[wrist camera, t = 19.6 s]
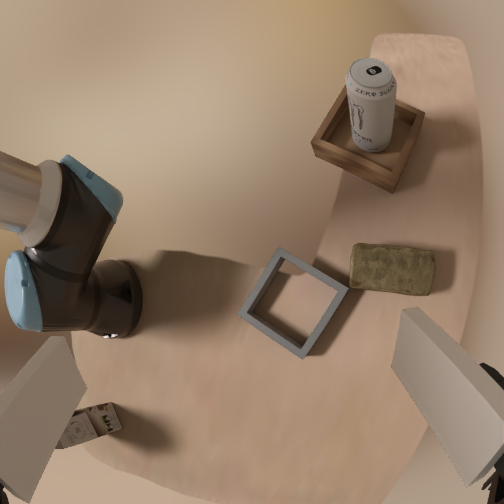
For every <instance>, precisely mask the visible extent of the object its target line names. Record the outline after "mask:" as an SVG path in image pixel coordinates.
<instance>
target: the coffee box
mask: <svg viewBox="0 0 504 504" xmlns="http://www.w3.org/2000/svg"><path fill="white" fill-rule="evenodd" d="M119 429H122V426H121V424H120V422H119V419H118V417H117V415H116V412H115V410H114V407H113V405H112V403H111V402H110V403H105V404H101V405H96V406H91V407H87V408H83V409H79V410H75V411H74V413H73V415H72V417H71V419H70V420H69V422H68V424H67V426H66V428H65V430H64V432H63V434H62V435H61V437H60V439H59V441H58V443H57V445H56V447H55V449H64V448H68V447H71V446H74V445H77V444H80V443H83V442H86V441H89V440H92V439H95V438H98V437H101V436H103V435H106V434H109V433H111V432H114V431H117V430H119Z"/></svg>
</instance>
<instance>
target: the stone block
mask: <svg viewBox="0 0 504 504" xmlns="http://www.w3.org/2000/svg"><path fill="white" fill-rule="evenodd" d="M434 275H435V260H434V257H433V253H432V251H426V250H417V249H412V248H403V247H395V246H387V245H378V244H366V243H358V244H355V245H354V246H353V249H352V255H351V259H350V279H349V286H350V287H351V288H355V289H363V290H371V291H381V292H392V293H398V294H404V295H413V296H428V295H429V292H430V290H431V285H432V281H433V278H434Z"/></svg>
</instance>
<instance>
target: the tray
mask: <svg viewBox="0 0 504 504" xmlns="http://www.w3.org/2000/svg"><path fill="white" fill-rule="evenodd" d="M285 259H286V260H288V261H289V262H291V263H293V264H294V265H296V266H298V267H299V268H301V269H303V270H304V271H306V272H307V273H309V274H311V275H312V276H314V277H316V278H317V279H319V280H321V281H322V282H324V283H326V284H327V285H329V286H330V287H332V288H334V289H335V290H337V291H338V292H337V294H336V295H335V297H334V299H333V300H332V302H331V304H330V305H329V307H328V308H327V310H326V312H325V313H324V315H323V316H322V318H321V319H320V321H319V323H318V324H317V326H316V327H315V329H314V330H313V332H312V333H311V335H310V336H309V338H308V339H307V341H306V342H305V344H304V345H303V346H302V345H301V344H299V343H298V342H296V341H295V340H293V339H292V338H290V337H289V336H287V335H286V334H284V333H283V332H281V331H280V330H278V329H277V328H275V327H274V326H272V325H271V324H269V323H268V322H266V321H265V320H264V319H262V318H261V317H259V316H258V315H256V314H255V313H253V311H254V309H255V308H256V306H257V304H258V303H259V301H260V300H261V298H262V296H263V295H264V293H265V291H266V290H267V288H268V287H269V285H270V283H271V282H272V280H273V278H274V277H275V275H276V273H277V272H278V270H279V268H280V267H281V265H282V263H283V261H284V260H285ZM348 290H349V288H347V287H346V286H344V285H342V284H341V283H339V282H337V281H336V280H334V279H332V278H331V277H329V276H327V275H326V274H324V273H322V272H321V271H319V270H317V269H316V268H314V267H312V266H311V265H309V264H307V263H306V262H304V261H302V260H301V259H299V258H297V257H295V256H294V255H292V254H290V253H289V252H287V251H285V250H284V249H282V248H280V247H278V248H277V250H276V251H275V253H274V255H273V257H272V258H271V260H270V262H269V263H268V265H267V266H266V268H265V270H264V271H263V273H262V275H261V276H260V278H259V280H258V281H257V283H256V285H255V286H254V288H253V290H252V291H251V293H250V295H249V296H248V298H247V299H246V301H245V303H244V304H243V306H242V308H241V309H240V311H239V313H238V314H237V315H239V316H240V317H241V318H243V319H244V320H246V321H247V322H248V323H250V324H251V325H253V326H254V327H256V328H257V329H258V330H260V331H261V332H263V333H264V334H266V335H267V336H268V337H270V338H271V339H273V340H274V341H276V342H277V343H279V344H280V345H282V346H283V347H285V348H286V349H288V350H289V351H290V352H292V353H293V354H295V355H296V356H298V357H299V358H301V359H304V358H305V357H306V355H307V354H308V353H309V351H310V350H311V348H312V347H313V345H314V344H315V342H316V341H317V339H318V338H319V336H320V335H321V333H322V332H323V330H324V329H325V327H326V325H327V324H328V322H329V321H330V319H331V318H332V316H333V314H334V313H335V311H336V310H337V308H338V306H339V305H340V303H341V302H342V300H343V298H344V297H345V295H346V293H347V292H348Z"/></svg>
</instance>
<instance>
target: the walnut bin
mask: <svg viewBox="0 0 504 504" xmlns="http://www.w3.org/2000/svg"><path fill="white" fill-rule="evenodd" d="M424 115H425V112H423V111H421V110H418V109H416V108H414V107H412V106H410V105H407V104H405V103H403V102H401V101H398V100H395V110H394V119H393V128H392V136H391V141H390V144H389V146H388V147H387V148H386V149H384V150H382V151H380V152H368V151H365V150H363V149H361V148H359V147H358V146H357V145H356V144H355V142H354V140H353V138H352V129H351V120H350V111H349V103H348V95H347V88H346V85H345V86H344V88H343V90H342V91H341V93H340V95H339V96H338V98H337V100H336V101H335V103H334V104H333V106H332V108H331V109H330V111H329V113H328V114H327V116H326V118H325V119H324V121H323V123H322V124H321V126H320V128H319V129H318V131H317V132H316V134H315V136H314V137H313V139H312V141H311V144H312V147H313V150H314V153H315V156H316V157H318V158H320V159H323V160H325V161H327V162H330V163H332V164H334V165H336V166H338V167H340V168H342V169H345V170H347V171H349V172H351V173H353V174H355V175H357V176H359V177H361V178H363V179H365V180H367V181H369V182H371V183H373V184H375V185H377V186H379V187H381V188H383V189H385V190H387V191H388V192H390V193H393V191H394V189H395V187H396V184H397V182H398V180H399V178H400V176H401V174H402V171H403V169H404V167H405V165H406V163H407V160H408V158H409V156H410V153H411V151H412V149H413V146H414V144H415V142H416V139H417V137H418V134H419V132H420V129H421V126H422V122H423V119H424Z"/></svg>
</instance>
